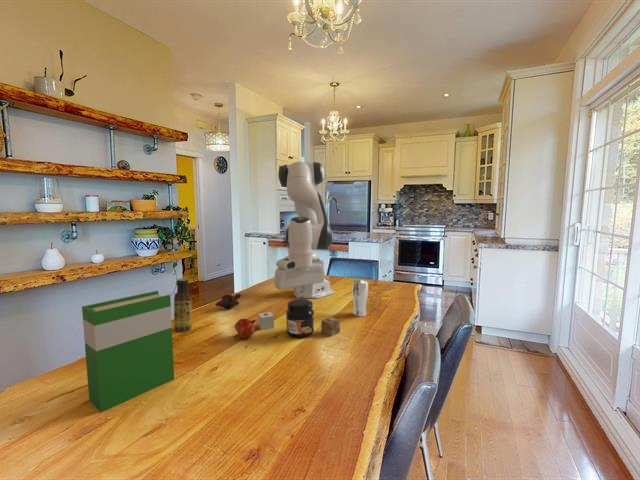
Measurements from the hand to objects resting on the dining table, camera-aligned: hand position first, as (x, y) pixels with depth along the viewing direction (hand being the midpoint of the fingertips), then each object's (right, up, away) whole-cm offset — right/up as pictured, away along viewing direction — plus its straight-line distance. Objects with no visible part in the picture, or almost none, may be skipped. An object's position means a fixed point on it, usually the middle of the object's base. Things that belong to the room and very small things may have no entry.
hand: (300, 297), depth 118 cm
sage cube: (-14, -13, +7) cm, 21 cm away
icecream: (-36, -11, +29) cm, 47 cm away
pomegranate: (-20, -15, -3) cm, 25 cm away
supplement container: (0, -14, +1) cm, 14 cm away
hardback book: (-41, -18, -36) cm, 58 cm away
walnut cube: (+11, -14, +2) cm, 18 cm away
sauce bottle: (-46, -14, +4) cm, 48 cm away
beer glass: (+25, -12, +22) cm, 36 cm away
